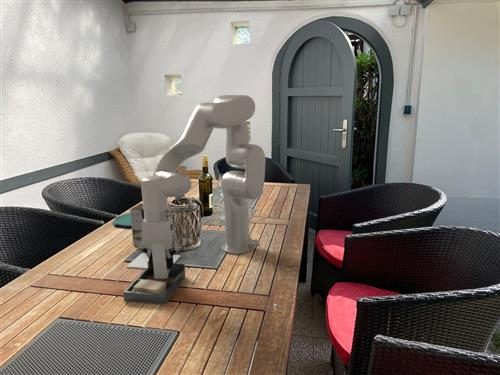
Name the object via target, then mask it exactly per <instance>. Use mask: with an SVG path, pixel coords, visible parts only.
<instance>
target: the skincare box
mask: <svg viewBox="0 0 500 375" xmlns="http://www.w3.org/2000/svg"><path fill="white" fill-rule="evenodd" d="M151 248H152V257H153V267H154V275H153V276H154V280H164V279H165V280H166V279H168V274H169V271H170V269H167V263H166V258H167V254H166V252H165V247H164V245H163V244H152V245H151Z"/></svg>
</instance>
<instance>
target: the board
mask: <svg viewBox="0 0 500 375" xmlns="http://www.w3.org/2000/svg"><path fill="white" fill-rule="evenodd" d="M180 258H181V254H180V255H179V254H174V255H173V263H175V262H176V263H177V262H178V260H179V259H180ZM148 261H149V258H148V257H147V254H146V253H144V252H141V253H140V254H139V255H138V256H137V257H135V258H134V259H133V260H132V261H131V262H130V263H129V264H128V265H126V268H127V269H137V270H138V269H139V270H146V269H147V268H148V263H147V262H148Z"/></svg>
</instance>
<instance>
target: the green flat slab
mask: <svg viewBox="0 0 500 375" xmlns="http://www.w3.org/2000/svg"><path fill="white" fill-rule="evenodd" d="M112 225H113V226H115V225H116V226H119V227H125V228H127V227H128V228H132V224H131V213H130V212H127V213H123V214H121V215H119V216H118V217H115V218H114V220H112Z"/></svg>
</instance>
